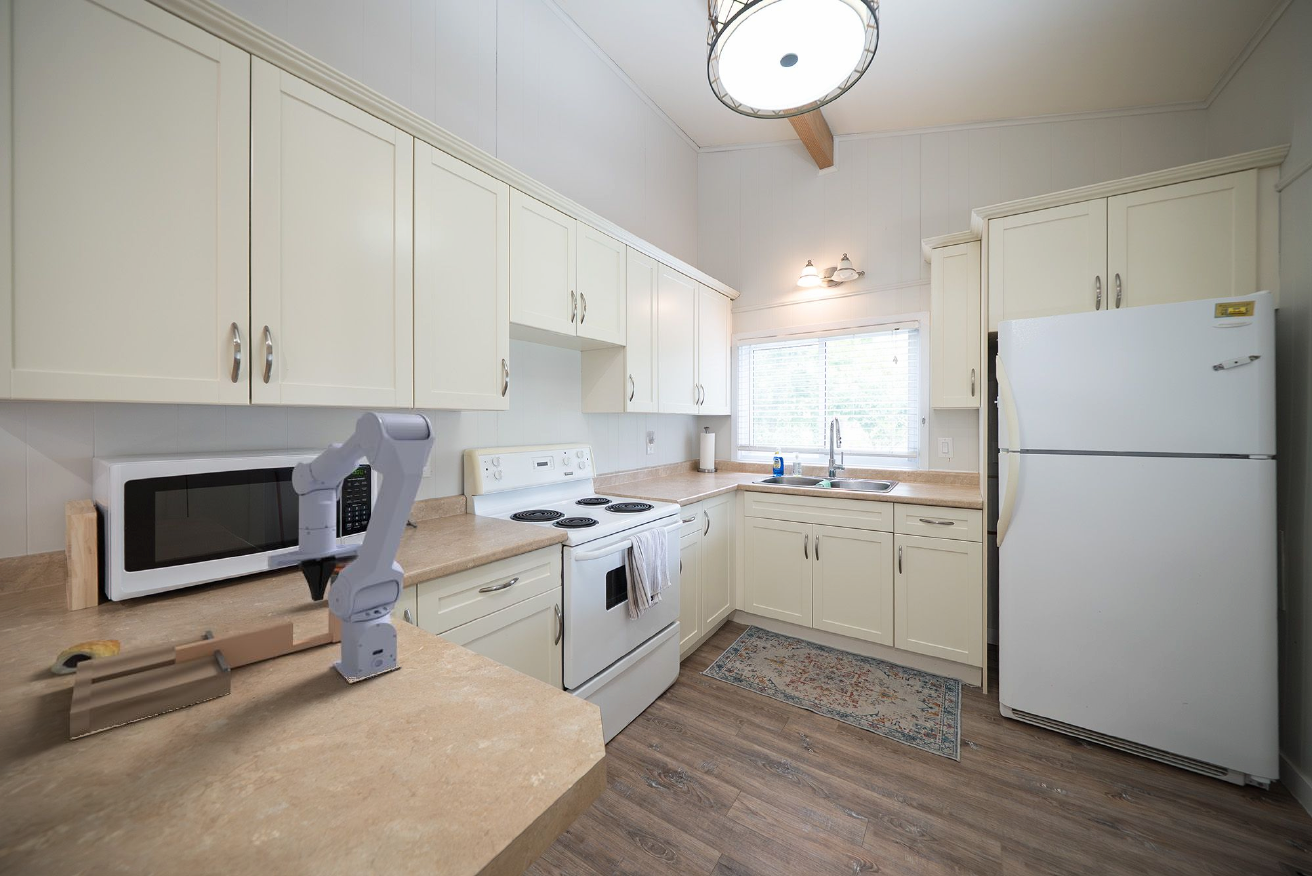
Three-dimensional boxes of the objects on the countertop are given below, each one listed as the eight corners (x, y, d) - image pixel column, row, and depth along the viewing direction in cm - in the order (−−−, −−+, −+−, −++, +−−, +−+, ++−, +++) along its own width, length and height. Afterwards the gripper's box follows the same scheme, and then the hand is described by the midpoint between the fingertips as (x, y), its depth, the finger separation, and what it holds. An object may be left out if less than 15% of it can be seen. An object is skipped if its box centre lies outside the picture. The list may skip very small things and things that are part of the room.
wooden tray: (230, 693, 74) (230, 666, 74) (69, 740, 62) (69, 709, 62) (212, 652, 88) (212, 629, 88) (77, 684, 76) (77, 658, 76)
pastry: (81, 654, 87) (81, 633, 87) (133, 647, 90) (133, 626, 90) (46, 678, 79) (47, 654, 79) (105, 669, 82) (106, 646, 82)
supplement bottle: (349, 603, 113) (349, 555, 113) (323, 603, 113) (324, 554, 113) (365, 595, 119) (365, 549, 119) (341, 594, 119) (341, 548, 119)
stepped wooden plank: (345, 639, 93) (345, 609, 93) (176, 684, 76) (176, 648, 76) (340, 634, 95) (340, 605, 95) (174, 677, 78) (174, 642, 78)
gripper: (354, 519, 99) (353, 585, 99) (263, 528, 88) (263, 603, 88) (366, 523, 94) (366, 593, 95) (273, 534, 84) (272, 613, 84)
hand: (317, 599), depth 91 cm, fingers closed
